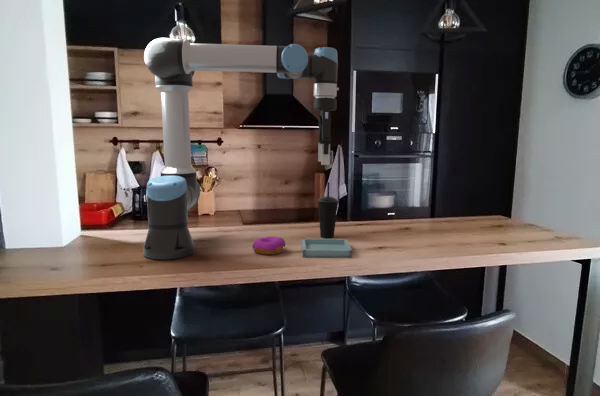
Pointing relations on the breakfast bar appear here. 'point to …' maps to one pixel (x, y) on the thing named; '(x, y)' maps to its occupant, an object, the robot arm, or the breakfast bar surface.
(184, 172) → the robot arm
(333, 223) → the drinking cup
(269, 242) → the donut
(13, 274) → the breakfast bar surface
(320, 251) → the tray
